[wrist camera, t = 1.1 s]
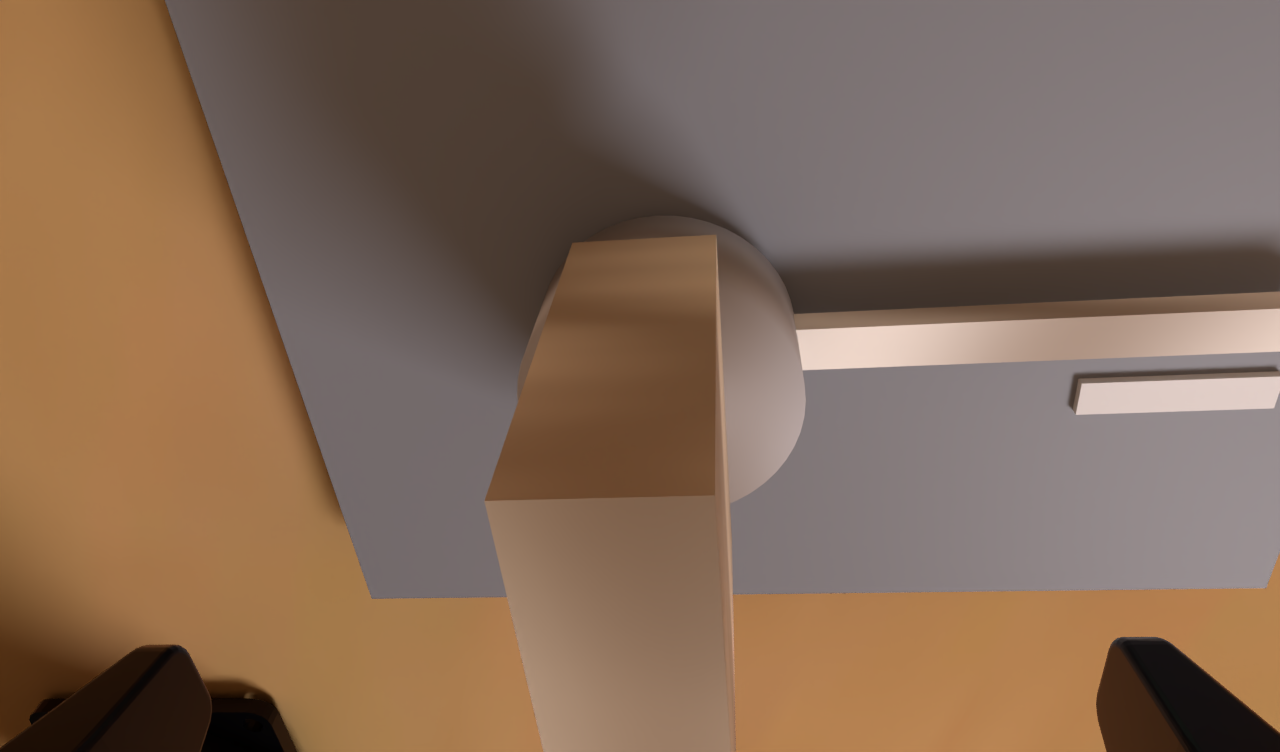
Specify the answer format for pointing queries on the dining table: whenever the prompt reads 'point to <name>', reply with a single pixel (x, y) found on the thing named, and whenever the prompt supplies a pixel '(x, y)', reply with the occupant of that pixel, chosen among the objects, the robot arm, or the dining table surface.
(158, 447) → the dining table surface
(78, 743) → the robot arm
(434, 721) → the dining table surface
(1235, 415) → the tuner dial board
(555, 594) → the tuning peg
